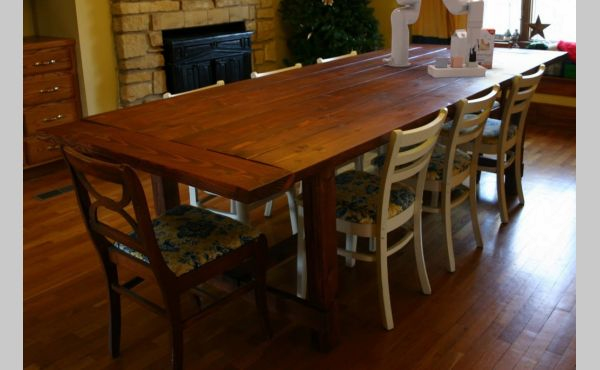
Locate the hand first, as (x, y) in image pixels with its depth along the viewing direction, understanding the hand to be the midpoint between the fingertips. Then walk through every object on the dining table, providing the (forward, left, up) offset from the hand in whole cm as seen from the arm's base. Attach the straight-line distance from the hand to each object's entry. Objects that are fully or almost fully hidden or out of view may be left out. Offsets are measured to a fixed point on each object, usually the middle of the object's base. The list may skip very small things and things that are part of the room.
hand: (472, 61), depth 319 cm
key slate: (-16, 0, -2) cm, 16 cm away
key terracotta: (-8, 0, -2) cm, 9 cm away
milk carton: (+4, +34, -7) cm, 35 cm away
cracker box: (+10, +18, -7) cm, 22 cm away
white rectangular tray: (-8, 0, -6) cm, 10 cm away
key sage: (0, 0, -5) cm, 5 cm away
